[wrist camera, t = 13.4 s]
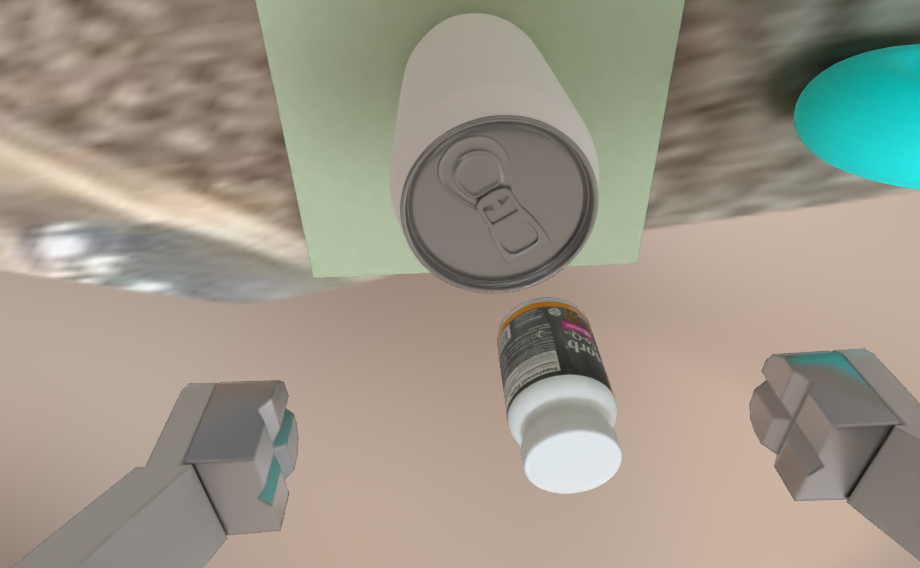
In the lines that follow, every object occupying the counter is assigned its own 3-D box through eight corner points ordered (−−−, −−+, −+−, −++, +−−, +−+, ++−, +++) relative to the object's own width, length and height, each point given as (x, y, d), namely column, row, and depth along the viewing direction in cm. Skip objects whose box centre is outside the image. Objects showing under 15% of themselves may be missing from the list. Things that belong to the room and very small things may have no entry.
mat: (219, -191, 20) (214, -192, 20) (716, -205, 21) (723, -207, 20) (315, 272, 32) (313, 278, 32) (634, 258, 32) (637, 264, 32)
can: (500, -23, 23) (550, 46, 14) (569, 109, 27) (649, 242, 17) (373, 65, 25) (335, 183, 15) (452, 179, 28) (463, 336, 19)
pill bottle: (606, 331, 35) (657, 464, 27) (532, 378, 37) (560, 515, 29) (551, 276, 33) (590, 405, 25) (475, 329, 35) (489, 465, 27)
